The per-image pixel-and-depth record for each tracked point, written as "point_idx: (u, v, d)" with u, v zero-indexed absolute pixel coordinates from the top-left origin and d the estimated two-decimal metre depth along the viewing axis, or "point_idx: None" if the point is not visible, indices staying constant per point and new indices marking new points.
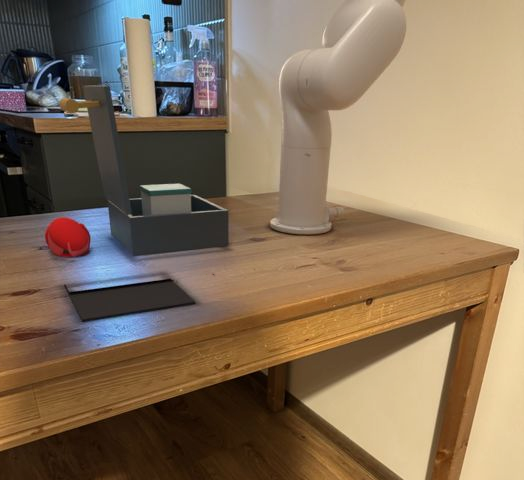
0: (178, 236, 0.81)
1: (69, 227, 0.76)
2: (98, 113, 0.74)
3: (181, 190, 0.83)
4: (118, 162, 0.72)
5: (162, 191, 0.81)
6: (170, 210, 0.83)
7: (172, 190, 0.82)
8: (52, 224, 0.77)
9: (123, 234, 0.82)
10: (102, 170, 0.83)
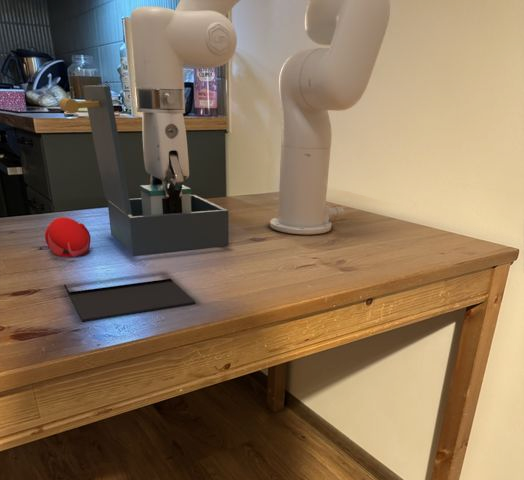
0: (178, 236, 0.81)
1: (69, 227, 0.76)
2: (98, 113, 0.74)
3: (181, 190, 0.83)
4: (118, 162, 0.72)
5: (162, 191, 0.81)
6: None
7: None
8: (52, 224, 0.77)
9: (123, 234, 0.82)
10: (102, 170, 0.83)
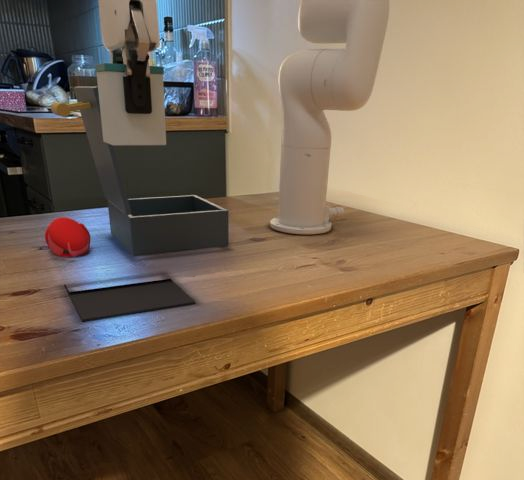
0: (178, 236, 0.81)
1: (69, 227, 0.76)
2: (90, 114, 0.74)
3: None
4: (114, 163, 0.72)
5: (122, 66, 0.59)
6: None
7: None
8: (52, 224, 0.77)
9: (123, 234, 0.82)
10: (99, 171, 0.83)
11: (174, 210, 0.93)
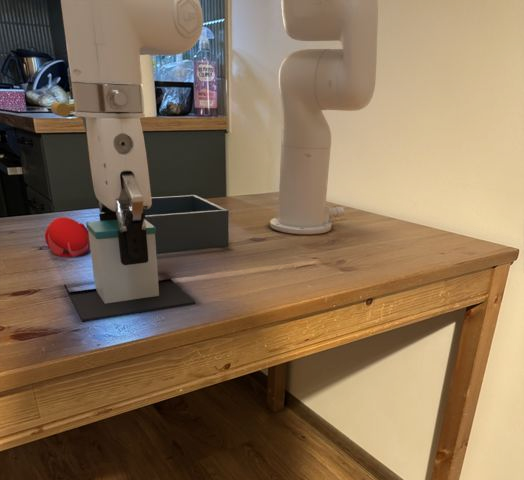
0: (178, 236, 0.81)
1: (69, 227, 0.76)
2: None
3: None
4: None
5: (114, 232, 0.59)
6: None
7: None
8: (52, 224, 0.77)
9: None
10: None
11: (174, 210, 0.93)
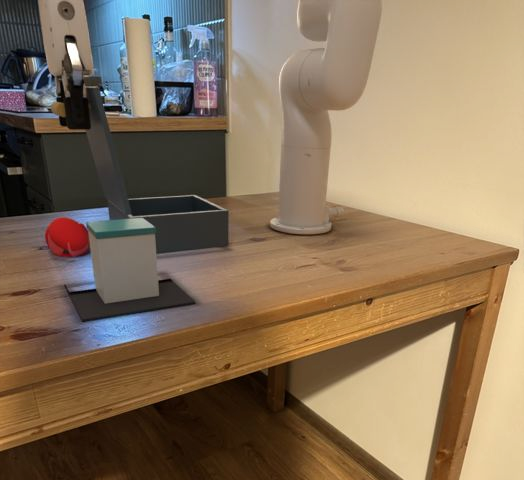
0: (178, 236, 0.81)
1: (69, 227, 0.76)
2: (90, 114, 0.74)
3: (141, 230, 0.60)
4: (114, 163, 0.72)
5: (114, 232, 0.59)
6: (127, 256, 0.61)
7: (128, 230, 0.60)
8: (52, 224, 0.77)
9: None
10: (99, 171, 0.83)
11: (174, 210, 0.93)
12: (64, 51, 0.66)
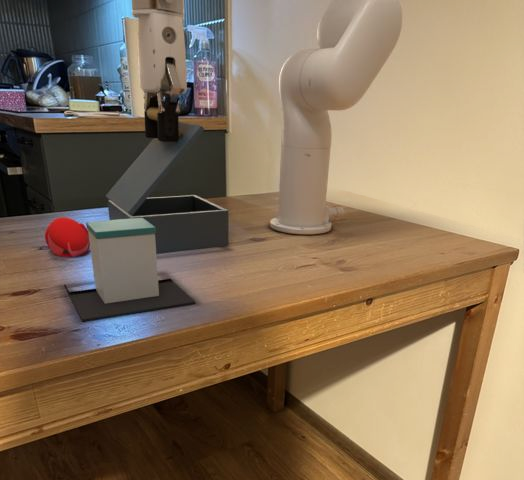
0: (178, 236, 0.81)
1: (69, 227, 0.76)
2: None
3: (141, 230, 0.60)
4: (160, 175, 0.76)
5: (114, 232, 0.59)
6: (127, 256, 0.61)
7: (128, 230, 0.60)
8: (52, 224, 0.77)
9: None
10: (127, 176, 0.85)
11: (174, 210, 0.93)
12: (164, 71, 0.72)
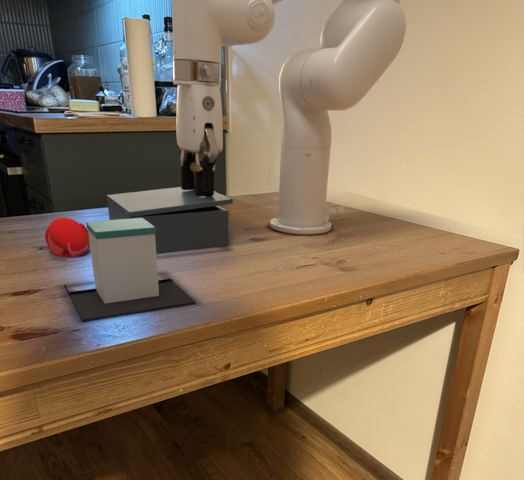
0: (178, 236, 0.81)
1: (69, 227, 0.76)
2: None
3: (141, 230, 0.60)
4: (176, 207, 0.79)
5: (114, 232, 0.59)
6: (127, 256, 0.61)
7: (128, 230, 0.60)
8: (52, 224, 0.77)
9: None
10: (138, 194, 0.87)
11: None
12: (203, 135, 0.79)
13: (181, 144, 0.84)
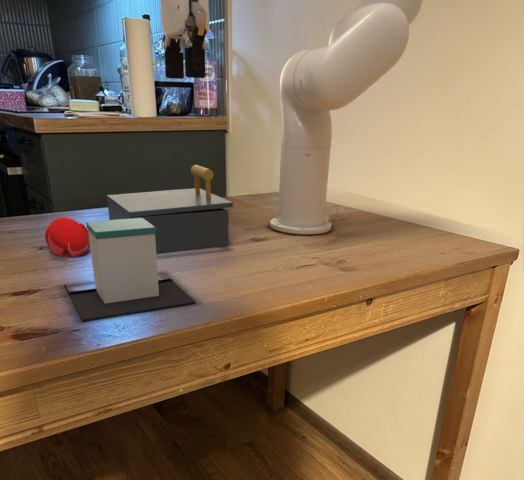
0: (178, 236, 0.81)
1: (69, 227, 0.76)
2: (197, 196, 0.87)
3: (141, 230, 0.60)
4: (177, 208, 0.79)
5: (114, 232, 0.59)
6: (127, 256, 0.61)
7: (128, 230, 0.60)
8: (52, 224, 0.77)
9: None
10: (138, 195, 0.87)
11: None
12: (188, 12, 0.75)
13: (166, 30, 0.81)
